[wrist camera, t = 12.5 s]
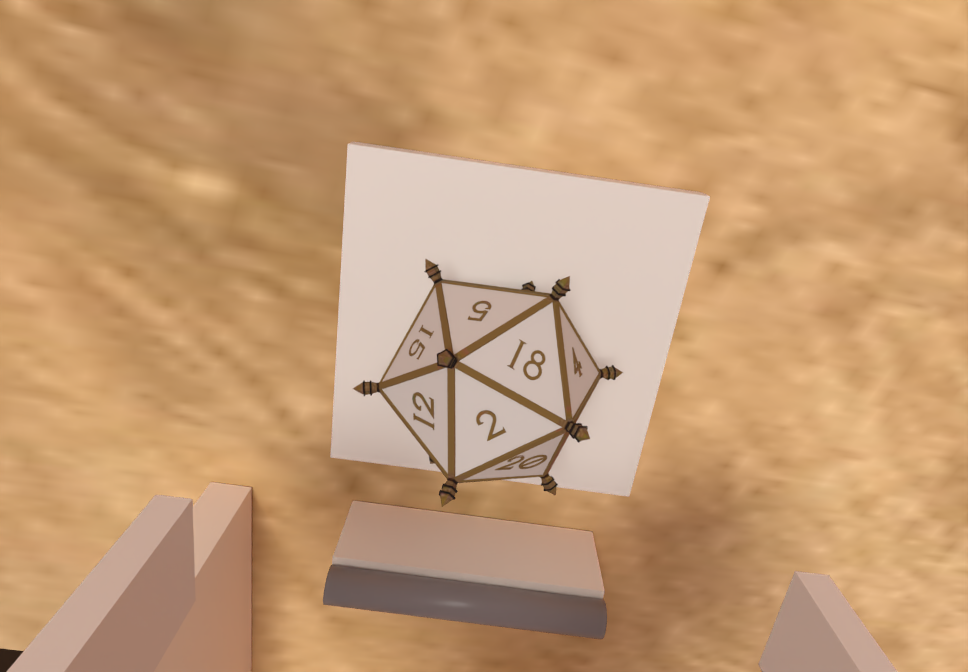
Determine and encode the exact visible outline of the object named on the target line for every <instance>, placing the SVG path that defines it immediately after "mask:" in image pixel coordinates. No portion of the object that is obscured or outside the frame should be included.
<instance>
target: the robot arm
mask: <svg viewBox="0 0 968 672" xmlns="http://www.w3.org/2000/svg"><path fill="white" fill-rule="evenodd" d="M195 601H196V596H195V564H194V533H193V501H192V499H188V498H180V497H171V496H163V495H155V496H154V497H153V499H152V500H151V501H150V502H149V503H148V504H147V506H146V507H145V508H144V509H143V510H142V512H141V513H140V514H139V515H138V516H137V518H136V519H135V520H134V521H133V522H132V523H131V525H130V526H129V527H128V528H127V529H126V531H125V532H124V533H123V534H122V535H121V536H120V538H119V539H118V540H117V541H116V542H115V544H114V545H113V546H112V547H111V548H110V550H109V551H108V552H107V553H106V554H105V555H104V557H103V558H102V559H101V560H100V561H99V563H98V564H97V565H96V566H95V567H94V569H93V570H92V571H91V572H90V573H89V574H88V576H87V577H86V578H85V579H84V580H83V582H82V583H81V584H80V585H79V586H78V587H77V589H76V590H75V591H74V592H73V593H72V595H71V596H70V597H69V598H68V599H67V601H66V602H65V603H64V604H63V605H62V606H61V608H60V609H59V610H58V611H57V612H56V614H55V615H54V616H53V617H52V618H51V620H50V621H49V622H48V623H47V624H46V625H45V627H44V628H43V629H42V630H41V631H40V633H39V634H38V635H37V636H36V637H35V638H34V640H33V641H32V642H31V643H30V644H29V646H28V647H27V648H26V649H25V650H24V651H17V650H8V649H0V672H154V671H155V669H156V667H157V666H158V664H159V662H160V660H161V659H162V657H163V655H164V654H165V652H166V650H167V648H168V647H169V645H170V643H171V642H172V640H173V638H174V637H175V635H176V633H177V631H178V630H179V628H180V626H181V625H182V623H183V621H184V619H185V618H186V616H187V614H188V613H189V611H190V609H191V608H192V606H193V604H194V602H195ZM759 666H760V668H761V670H762V672H897V670H896V669H895V668H894V666H893V665H892V663H891V662H890V661H889V659H888V658H887V656H886V655H885V654H884V652H883V651H882V649H881V648H880V647H879V645H878V644H877V642H876V641H875V640H874V638H873V637H872V635H871V634H870V632H869V631H868V630H867V628H866V627H865V625H864V624H863V623H862V621H861V620H860V618H859V617H858V616H857V614H856V613H855V611H854V610H853V609H852V607H851V606H850V604H849V603H848V602H847V600H846V599H845V597H844V596H843V595H842V593H841V592H840V590H839V589H838V587H837V586H836V585H835V583H834V582H833V580H832V579H831V578H830V576H829V575H823V574H815V573H806V572H798V571H795V572H794V575H793V578H792V580H791V583H790V585H789V588H788V590H787V593H786V595H785V598H784V600H783V603H782V606H781V608H780V611H779V613H778V616H777V618H776V621H775V623H774V626H773V628H772V631H771V634H770V636H769V639H768V641H767V644H766V646H765V649H764V651H763V654H762V656H761V659H760V662H759Z"/></svg>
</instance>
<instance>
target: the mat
mask: <svg viewBox="0 0 968 672" xmlns="http://www.w3.org/2000/svg"><path fill="white" fill-rule="evenodd" d="M709 198H710V196H708V195H706V194H704V193H702V192H696V191H689V190H682V189H675V188H668V187H661V186H655V185H648V184H641V183H634V182H627V181H620V180H613V179H607V178H600V177H593V176H586V175H579V174H572V173H565V172H558V171H552V170H545V169H538V168H531V167H524V166H517V165H510V164H503V163H497V162H490V161H483V160H476V159H469V158H462V157H455V156H449V155H442V154H435V153H428V152H421V151H414V150H407V149H400V148H394V147H387V146H380V145H373V144H366V143H359V142H351V143H349V144H348V151H347V169H346V187H345V205H344V223H343V241H342V259H341V277H340V295H339V313H338V331H337V349H336V367H335V385H334V403H333V421H332V440H331V457H332V458H340V459H347V460H355V461H363V462H370V463H378V464H385V465H393V466H401V467H408V468H416V469H423V470H431V471H439V472H441V471H440V469H439V468H438V467H437V466H436V464H430V461H429V455H428V454H427V453H426V451H425V450H424V449H423V448H422V446H421V445H420V444H419V442H418V441H417V440H416V439H415V437H414V436H413V435H412V433H411V432H410V431H409V430H408V428H407V427H406V426H405V424H404V423H403V422H402V421H401V419H400V418H399V417H398V416H397V414H396V413H395V412H394V410H393V409H392V408H391V407H390V405H389V404H388V403H387V401H386V400H385V399H384V398H383V396H382V395H381V394H380V393H379V392H376V393H373V394H372V396H370V394H368V395H365V396H364V395H363V394H361V393H359V392H357V391H356V390H354V389H353V388H354V387H356V386H357V385H359V384H361V383H362V382H363V381H364V380H365V382H370V380H371V382H375V383H379V382H380V380H381V378H382V376H383V375H384V373H385V371H386V369H387V367H388V366H389V364H390V362H391V360H392V359H393V357H394V355H395V353H396V351H397V350H398V348H399V346H400V344H401V342H402V341H403V339H404V337H405V335H406V333H407V332H408V330H409V328H410V326H411V324H412V323H413V321H414V319H415V317H416V315H417V314H418V312H419V310H420V308H421V307H422V305H423V303H424V301H425V299H426V298H427V296H428V294H429V292H430V290H431V289H432V287H433V285H434V282H433V281H432V280H431V279H430V278H428V277H429V276H428V274H427V273H425V272H424V271H425V259H427V260H429V261H431V262H433V263H434V264H436V265H437V264H438V268H439V270H441V272H440V273H441V278H442V279H445V280H452V281H460V282H467V283H475V284H483V285H490V286H498V287H505V288H513V289H523V287H522V285H523V284H526V283H528V282H530V281H533V284H534V286H536V288H535V291H536V292H543V293H552V289H551V288H552V287H553V286H554V285H556V283H555V282H556V281H557V280H558V279H560V280H561V279H563V278H566V277H568V276H570V285H569V288H570V290H571V291H568V292H567V293H566V296H563V297H561V298H560V299H559V301H560V303H561V305H562V307H563V308H564V310H565V312H566V313H567V315H568V317H569V318H570V320H571V322H572V323H573V325H574V327H575V328H576V330H577V332H578V334H579V335H580V337H581V339H582V340H583V342H584V344H585V345H586V347H587V349H588V350H589V352H590V354H591V356H592V357H593V359H594V361H595V362H596V364H597V366H598V367H599V369H603V368H605V367H606V366H608V367H611V366H612V365H614V367H615V368H617V369H618V370H620V371H622V372H623V373H622V374H621V375H619V376H618V377H617V378H616V379H615V380H613V379H609V380H606V379H605V378H601V379H600V380H599V382H598V384H597V386H596V387H595V389H594V391H593V393H592V395H591V397H590V398H589V400H588V402H587V404H586V406H585V407H584V409H583V411H582V413H581V415H580V417H579V418H578V420H577V422H576V423H581V424H582V426H588V429H587V431H588V434H589V437H590V439H588V440H583V441H580V442H579V443H578V442H577V440H576V439H575V438H574V439H573V438H572V437H571V435H569V437H568V438H567V440H566V442H565V444H564V446H563V447H562V449H561V451H560V453H559V455H558V457H557V458H556V460H555V462H554V464H553V466H552V467H551V469H550V471H549V475H550V476H552V477H553V478H554V479H555V480H554V481H555V482H556V483H557V484H558V485H557V486H556V487H560V488H568V489H575V490H583V491H590V492H598V493H605V494H613V495H621V496H628V497H629V496H630V492H631V488H632V485H633V481H634V477H635V473H636V470H637V466H638V462H639V459H640V455H641V451H642V447H643V444H644V440H645V436H646V433H647V429H648V425H649V421H650V418H651V414H652V410H653V406H654V403H655V399H656V395H657V392H658V388H659V384H660V380H661V377H662V373H663V369H664V366H665V362H666V358H667V354H668V351H669V347H670V343H671V340H672V336H673V332H674V328H675V325H676V321H677V317H678V314H679V310H680V306H681V302H682V299H683V295H684V291H685V288H686V284H687V280H688V276H689V273H690V269H691V265H692V261H693V258H694V254H695V250H696V247H697V243H698V239H699V235H700V232H701V228H702V224H703V221H704V217H705V213H706V209H707V206H708V202H709ZM505 480H507V481H514V482H522V483H530V484H537V485H541V483H542V480H541V478H540V477H532V478H518V479H505Z"/></svg>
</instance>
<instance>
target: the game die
mask: <svg viewBox="0 0 968 672" xmlns="http://www.w3.org/2000/svg"><path fill="white" fill-rule="evenodd" d="M424 272H425V273H427V274H428V276H429V277H428V278H430V279H431V280H432V281H433V282H434V285H433V287H432V289H431V290H430V292H429V294H428V296H427V298H426V299H425V301H424V303H423V305H422V307H421V308H420V310H419V312H418V314H417V315H416V317H415V319H414V321H413V323H412V324H411V326H410V328H409V330H408V332H407V333H406V335H405V337H404V339H403V341H402V342H401V344H400V346H399V348H398V350H397V351H396V353H395V355H394V357H393V359H392V360H391V362H390V364H389V366H388V367H387V369H386V371H385V373H384V375H383V376H382V378H381V380H380V382H379V383H375V382H371V380H370V382H365V380H364V381H363V382H362V383H361V384H359V385H357V386H356V387H354V388H353V389H354V390H356V391H357V392H359V393H361V394H363V395H364V396H365V395H368V394H370V396H372V394H373V393H376V392H379V393H380V394H381V395H382V396H383V398H384V399H385V400H386V401H387V403H388V404H389V405H390V407H391V408H392V409H393V410H394V412H395V413H396V414H397V416H398V417H399V418H400V419H401V421H402V422H403V423H404V424H405V426H406V427H407V428H408V430H409V431H410V432H411V433H412V435H413V436H414V437H415V439H416V440H417V441H418V442H419V444H420V445H421V446H422V448H423V449H424V450H425V451H426V453H427V454H428V455H429V461H430V464H436V466H437V467H438V468H439V469H440V471H441V472H442V473H443V475H444V476H445V477H446V478H447V480H448V481H447V482H446V483H445V484H443V485H442V490H440V492H439V495H440V497H441V504H442V506H444V505H445V504H447V503H448V502H449V501H451V500H453V499H455V497H454V495H455V493H457V490H456V485H457V483H464V482H477V481H491V480H505V479H518V478H532V477H540V478H541V480H542V483H541V485H543V487H544V491H548V492H550V493H552V494H554V495H556V486H557V485H558V484H557V483H556V482H555V481H554V480H555V479H554V478H553V477H552V476H550V475H549V471H550V469H551V467H552V466H553V464H554V462H555V460H556V458H557V457H558V455H559V453H560V451H561V449H562V447H563V446H564V444H565V442H566V440H567V438H568V437H569V435H571V437H572V438H573V439H574V438H575V439H576V440H577V442H578V443H579V442H580V441H583V440H588V439H590V437H589V434H588V431H587V429H588V426H582V424H581V423H576V422H577V420H578V418H579V417H580V415H581V413H582V411H583V409H584V407H585V406H586V404H587V402H588V400H589V398H590V397H591V395H592V393H593V391H594V389H595V387H596V386H597V384H598V382H599V380H600V379H601V378H605V379H606V380H609V379H613V380H615V379H616V378H617V377H618V376H619V375H621V374H622V373H623V372H622V371H620V370H618V369H617V368H615V367H614V365H612V366H611V367H608V366H606V367H605V368H603V369H599V367H598V366H597V364H596V362H595V361H594V359H593V357H592V356H591V354H590V352H589V350H588V349H587V347H586V345H585V344H584V342H583V340H582V339H581V337H580V335H579V334H578V332H577V330H576V328H575V327H574V325H573V323H572V322H571V320H570V318H569V317H568V315H567V313H566V312H565V310H564V308H563V307H562V305H561V303H560V301H559V299H560V298H561V297H563V296H566V293H567V292H568V291H571V290H570V288H569V285H570V276H568V277H566V278H563V279H561V280H560V279H558V280H557V281H556V282H555V283H556V285H554V286H553V287H552V288H551V289H552V293H543V292H536V291H535V288H536V286H534V284H533V281H530V282H528V283H526V284H523V285H522V287H523V289H513V288H505V287H498V286H490V285H483V284H475V283H467V282H460V281H452V280H445V279H442V278H441V273H440V272H441V270H439V268H438V264H437V265H436V264H434V263H433V262H431V261H429V260H427V259H425V271H424Z"/></svg>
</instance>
